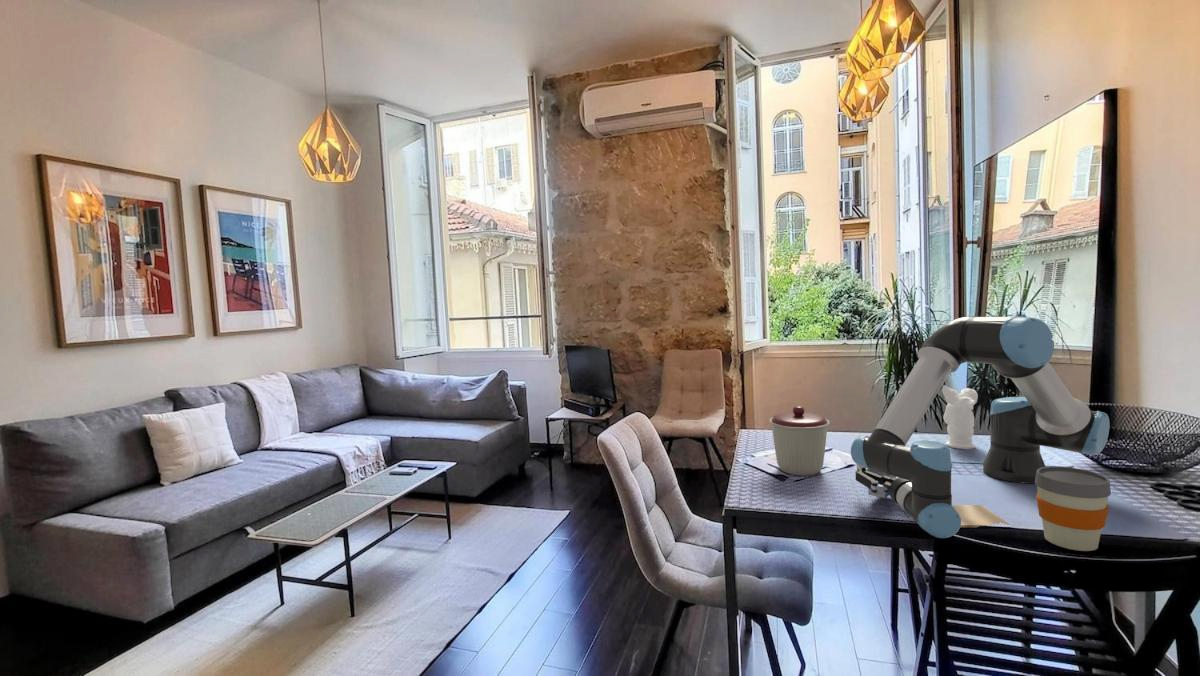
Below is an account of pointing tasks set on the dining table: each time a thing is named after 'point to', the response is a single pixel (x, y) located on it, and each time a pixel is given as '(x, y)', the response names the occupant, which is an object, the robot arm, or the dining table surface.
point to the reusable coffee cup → (1072, 506)
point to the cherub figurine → (960, 417)
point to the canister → (799, 441)
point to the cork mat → (976, 516)
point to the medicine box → (880, 492)
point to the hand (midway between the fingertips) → (875, 465)
